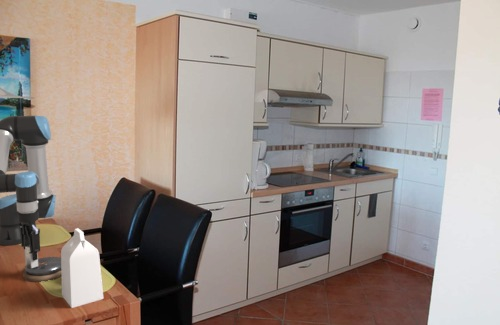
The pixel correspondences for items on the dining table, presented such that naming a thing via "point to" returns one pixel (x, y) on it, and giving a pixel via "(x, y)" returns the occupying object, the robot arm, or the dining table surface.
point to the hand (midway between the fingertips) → (31, 265)
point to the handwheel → (42, 265)
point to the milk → (80, 271)
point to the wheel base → (41, 277)
